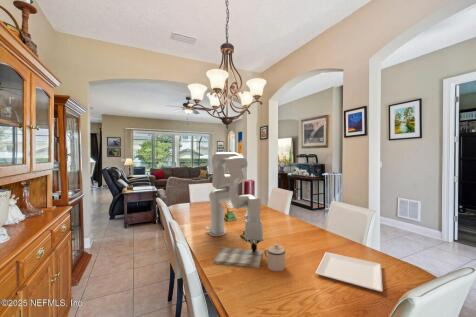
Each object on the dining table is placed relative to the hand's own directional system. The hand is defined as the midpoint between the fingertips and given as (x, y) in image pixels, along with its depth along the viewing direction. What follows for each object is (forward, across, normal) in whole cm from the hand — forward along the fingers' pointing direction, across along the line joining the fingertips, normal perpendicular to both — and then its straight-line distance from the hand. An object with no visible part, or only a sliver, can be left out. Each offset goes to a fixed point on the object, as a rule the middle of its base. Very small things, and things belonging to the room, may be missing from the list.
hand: (254, 250), depth 124 cm
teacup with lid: (+2, +12, -11) cm, 16 cm away
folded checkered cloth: (+2, -7, -1) cm, 8 cm away
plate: (+3, +48, -9) cm, 49 cm away
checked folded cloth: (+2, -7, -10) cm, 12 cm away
